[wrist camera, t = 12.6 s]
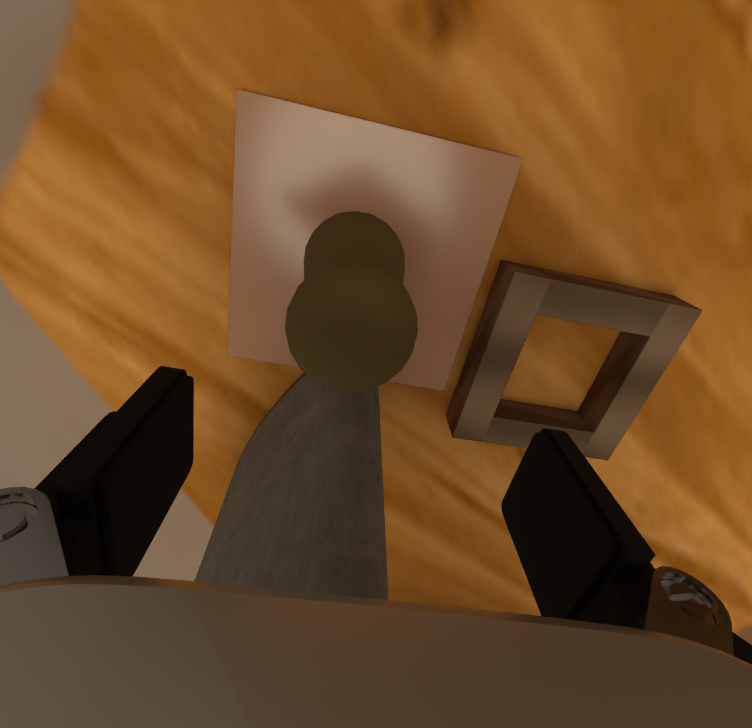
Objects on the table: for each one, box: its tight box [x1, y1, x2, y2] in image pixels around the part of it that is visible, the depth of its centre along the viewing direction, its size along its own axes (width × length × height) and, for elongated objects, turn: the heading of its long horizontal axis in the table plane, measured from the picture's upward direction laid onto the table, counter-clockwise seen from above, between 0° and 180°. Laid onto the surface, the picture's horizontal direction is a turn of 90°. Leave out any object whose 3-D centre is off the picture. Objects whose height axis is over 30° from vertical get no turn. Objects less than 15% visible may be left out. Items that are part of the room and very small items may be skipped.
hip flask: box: [195, 374, 388, 600], centre depth 21 cm, size 16×4×20 cm, turn 141°
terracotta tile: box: [227, 89, 523, 391], centre depth 25 cm, size 15×15×1 cm
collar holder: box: [446, 260, 702, 460], centre depth 27 cm, size 12×12×2 cm
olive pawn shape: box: [285, 211, 418, 392], centre depth 19 cm, size 6×6×11 cm
